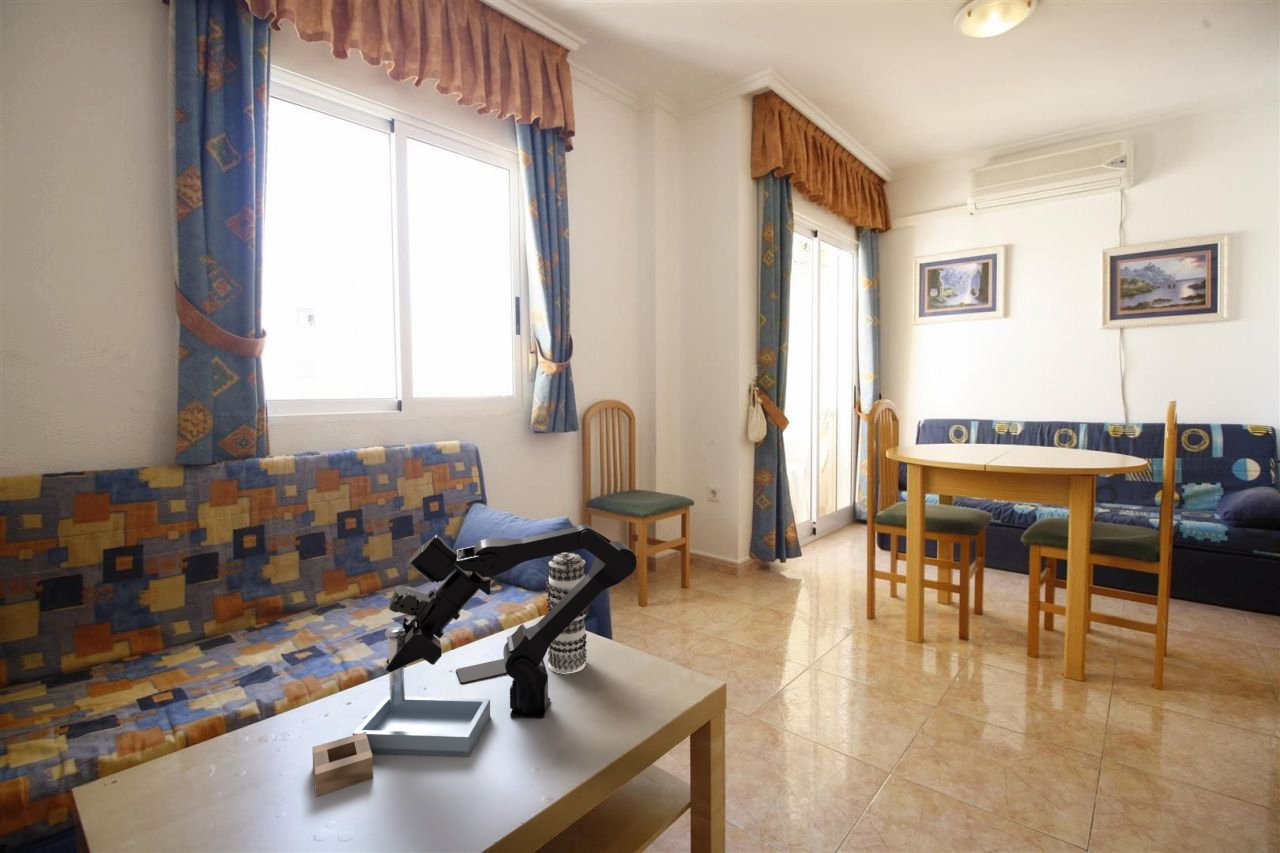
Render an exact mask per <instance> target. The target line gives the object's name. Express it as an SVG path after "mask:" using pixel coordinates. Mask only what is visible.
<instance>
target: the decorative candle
mask: <svg viewBox="0 0 1280 853" xmlns="http://www.w3.org/2000/svg"><path fill="white" fill-rule="evenodd" d="M585 564H586V560H585V559H583V558H582V557H581V555H580V554H578V553H575V552H565V553H561V554H556V555H553V557H552V560H549V561H548V566H549V575H548V579H546V582H545V586H546V590H545V593H546V594H547V595H546V602H547V605H546V608H547V610H548V612H549V611H550V610H551V609H552V608H553V607H554V606H555V605H556V604H557V603H558V602H559V601H560V600H561V599H562V598H564V597H565V596H566V595H567V594H568V593H569V592H570V591H571V590H572V589H573V588H574V587H575V586H576V585H577V584H578V583H579V582H580V581H581V580H582V579H583V578H584V577H585V576H586V574H585V572H584V571H585V570H584V569H585ZM548 612H547V613H548ZM586 615H587V609H585V610H584V611H583V612H582V613H581V614H580V615H579V616H578V617H577V618H576V619H575V620H574V621H573V622H572V623H571V624H570V625H569V626H568V627H567V628H566V629H565V630H564V631H563V632H562V633H561V634H560V635H559V636H558V637H557V638H556V639H555V640H554V641H553V642H552V643H551V644H550V646H549V648H548V650H547V655H548V658H547V662H548V669H549V668H550V669H551V670H552V671H555V672H559V673H567V672H573V670H574V671H575V670H577V669H578V668H580V667H581V666H582V665H583V664H584V662H585V661H586V662H587V658H588V656H587V651H588V650H587V648H586V647H587V640H586V639H587V637H588V636H587V633H586V625H585V617H586ZM550 669H549V670H550ZM551 670H550V671H551ZM552 671H551V672H552Z"/></svg>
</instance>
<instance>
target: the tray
mask: <svg viewBox="0 0 1280 853" xmlns="http://www.w3.org/2000/svg"><path fill="white" fill-rule="evenodd" d="M490 718H491V698H474V697H473V698H466V697H465V698H464V697H435V696H434V697H432V696H430V697H429V696H405V701H404V702H403V703H401V704H397V705H393V704H391V703H390V695H386V696H385V697H384V698H383V699H382V701H381V702H380V703H379V704H378V705H377V706H376V707H375V708H373V710H372V711H371V713H370V714H369V715H368V716H367V717H366V718H365V719H364V720H363V722H361V723H360V725H359V726H358V727H357V728H356V729H355V730H354V731H353V732H352V736H353V735H356V734H360V733H361V734H362V733H363V734H364V732H365V734H366V735H367V738H368V742H369V746H370V749H371V753H372V755H373V754H374V755H398V756H399V755H400V756H401V755H403V756H429V757H431V756H432V757H433V756H435V757H459V758H460V757H463V758H464V757H465V758H469V757H470V756H471V753H472V752H473V750H474V748H475V746H476V744H477V743H478V740H479V738H480V737H481V735H482V733H483V731H484V729H485V728H486V726H487V724H488V722H489V720H490Z"/></svg>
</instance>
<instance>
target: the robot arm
mask: <svg viewBox="0 0 1280 853" xmlns="http://www.w3.org/2000/svg"><path fill="white" fill-rule="evenodd" d="M582 549H585V550H586V551H588V552H589V553H590V554H592V555H593V556H594V557H595V558H594V561H593V563H592V565H591V567H590V569H589V571H588V573H586V574H585V577H584V578H583V579H582V580H581V581H580V582H579V583H578V584H577V585H576V586H575V587H574V588H573V589H572V590H571V591H570V592H569V593H568V594H567V595H566V596H565V597H564V598H562V599H561V600H560V601H559V602H558V603H557V604H556V605H555V606H554V607H553V608H552V609H551V610H550V611H549V610H548V611H549V612H547V613H546V614H545V615H544V616H543V617H542V618H541V619H540V620H539V621H538V622H537V623H536V624H535V625H532V626H530V627H526V626H525V624H523V623H521V624H519V626H518V627H517V628H516V630H515V632H513V633H512V634H511V635H509V636H507V637H506V641H507V642H506V643H505V644H504V647H503V651H502V652H503V654H502V655H503V659H504V663H505V669H506V672H507V674H508V676H509V678H512V679H513V680H512V684H511V686H510V687H509V708H510V709H511V711H510V713H509V716H510V717H511V718H524V719H525V718H526V719H527V718H529V719H532V718H533V719H534V718H535V719H544V717H545V715H546V714H547V711H548V708H549V706H548V705H550V702H551V698H550V697H549V674H548V671H547V668H546V664H545V661H544V659H545V657H546V654H547V653H548V651H549V646H550V644H551V643H552V642H553V641H554V640H555V639H556V638H557V637H558V636H559V635H560V634H561V633H562V632H563V631H564V630H565V629H566V628H567V627H568V626H569V625H570V624H571V623H572V622H573V621H574V620H575V619H576V618H577V617H578V616H579V615H580V614H581V613H582V612H583V611H584V610H587V608H588V607H590V605H591V604H592V603H593V602H594V601H595V600H596V599H597V598H598V597H599V596H600V595H601V594H602V593H603V592H604V591H605V590H608V589H610V588H612V587H615V586H617V585H619V584H620V583H622V582H623V581H625V580H626V579H627V578H628V577H630V576H632V574H634V572H635V571H636V570H637V564H638V562H637V561H638V560H637V556H636V555H635V553H634V552H633V551H632V550H631V548H629V547H628V546H627V545H626V543H624V542H622V541H619V540H611V539H609V538H607V537H606V536H604V534H601V533H600V532H598V531H597V530H594V529H593V528H592V527H591V525H588V524H586V523H584V524H583V523H581V524H579V525H577V526H574V527H570V528H566V529H559V530H556V531H551V532H550V531H549V532H547V533H542V534H541V533H540V534H537V535H532V536H528V537H523V538H506V537H497V538H483V539H481V540H479V541H478V542H477V543H476V544H475V545H473V546H468V547H462V548H458V549H456V550H454V549H453V548H452V547H450V545H449V544H447V543H446V542H445V541H444V539H443V538H442V537H441V536H439V535H438V534H435V535H434V536H433V537H432V538H431V539H428V541H426V542H425V543H424V544H422V545H421V546H420V547H419V548H417V550H416V551H415V552H414V553H413V555H412V556H411V557H410V559H409V560H408V562H407V564H408V565H409V566H410V567H411V568H413V569H414V570H416V571H417V572H418V573H419V574H420V575H422V576H423V577H424V578H426V579H427V580H428V581H429V582H431V583H432V584H433V583H435V582H436V583H442V582H443V581H444V580H445V579H446V580H445V581H444V582H443V583H442V584H441V585H440V586H439V587H438V589H436V588H434V589H431V590H430V591H429V592H428V593H427V594H426V593H423V592H420V591H418V590H415V589H412V588H409V587H405V586H401V585H398V586H397V585H396V586H395V587H396V588H395V589H394V592H393V594H392V596H391V598H390V601H389V606H388V609H389V611H391V612H394V613H401V614H404V615H408V617H409V618H408V619H407V618H406V617H403V618H402V627H403V628H404V629H405V631H403V635H402V636H403V644H402V645H401V646H400V648H399V649H398V651H397V652H396V654H395V655H394V657H393V658H392V659H391V661H390V662H389V656H388V657H387V659H386V661H385V662H386V664H387V665H386V667H385V671H387V672H388V673H389V672H393V671H395V670H397V669H399V668H401V667H403V666H404V667H405V666H407V665H410V664H411V663H414V662H416V661H418V660H421V659H423V660H424V661H426V662H427V663H428V664H430V665H432V666H433V665H434V666H435V664H436V663H437V662H438V661H439V660H440V659H441V657H442V655H443V654H442V644H441V640H440V639H441V638H442V637H443V636H444V635H445V634H444V632H445V631H444V629H445V628H446V627H447V626H448V625H449V624H450V623H451V622H452V621H453V620H455V621H458V619H459V618H460V617H461V614H460V612H461V610H463V609H464V608H465V606H466V605H467V604H468V603H469V602H470V601H471V599H472V598H474V596H475V595H476V594H477V593H478V592H479V591H480V590H481V592H483V593H484V594H485V595H487V596H490V595H491V593H492V592H491V583H492V579H491V578H493V577H496V576H498V575H500V574H504V573H506V572H509V571H511V570H512V569H514V568H515V567H517V566H518V565H520V564H523V563H526V562H529V561H533V560H538V559H542V558H546V557H552V556H556V555H557V554H561V553H570V552H573V551H578V550H582ZM454 569H455V570H454ZM438 638H439V639H438ZM546 710H547V711H546Z"/></svg>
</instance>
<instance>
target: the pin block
mask: <svg viewBox="0 0 1280 853" xmlns="http://www.w3.org/2000/svg"><path fill="white" fill-rule="evenodd" d="M311 751H312V769H313V770H312V771H313V780H314V787H315V796H316V797H319V796H321V795H325V794H329V793H332V792H334V791H336V790H337V791H338V790H340V789H344V788H346V787H349V786H350V787H351V786H352V785H356V784H360V783H361V782H362V783H363V782H365V781H368V780H371V779H374V764H373V763H374V762H373V759H374V758H373V754H372V753H371V749H370V746H369V742H368V738H367V735H366V734H365V732H364V734H363V733H362V734H361V733H360V734H356V735H353V734H352V735H351V736H347V737H343V738H340V739H336V740H331V741H329V742H325V743H321V744H317V745H314V746H312V750H311Z"/></svg>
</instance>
